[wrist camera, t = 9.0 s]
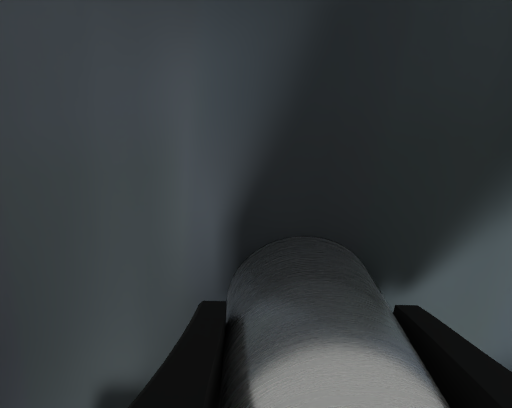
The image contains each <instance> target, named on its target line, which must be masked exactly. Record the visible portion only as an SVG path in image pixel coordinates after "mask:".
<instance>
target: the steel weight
mask: <svg viewBox="0 0 512 408" xmlns="http://www.w3.org/2000/svg"><path fill="white" fill-rule="evenodd" d="M220 408H450V407H449V405H448V403H447V402H446V400H445V398H444V397H443V395H442V393H441V392H440V390H439V389H438V387H437V385H436V384H435V382H434V380H433V379H432V377H431V375H430V374H429V372H428V370H427V369H426V367H425V365H424V364H423V362H422V360H421V359H420V357H419V356H418V354H417V352H416V351H415V349H414V347H413V346H412V344H411V342H410V341H409V339H408V337H407V336H406V334H405V332H404V331H403V329H402V328H401V326H400V324H399V323H398V321H397V319H396V318H395V316H394V314H393V313H392V311H391V309H390V308H389V306H388V304H387V303H386V301H385V300H384V298H383V296H382V295H381V293H380V291H379V290H378V288H377V286H376V285H375V283H374V281H373V280H372V278H371V276H370V275H369V273H368V272H367V270H366V268H365V267H364V265H363V264H362V262H361V261H360V260H359V259H358V257H357V256H355V255H354V254H353V253H352V252H351V251H350V250H348V249H347V248H345V247H344V246H342V245H340V244H338V243H336V242H333V241H330V240H327V239H323V238H319V237H310V236H299V237H290V238H285V239H281V240H278V241H275V242H272V243H270V244H267V245H266V246H264V247H262V248H260V249H258V250H257V251H256V252H254V253H253V254H252V255H250V256H249V257H248V258H247V259H246V260H245V261H244V262H243V263H242V264H241V266H240V267H239V268H238V270H237V271H236V273H235V275H234V276H233V279H232V281H231V283H230V287H229V290H228V298H227V311H226V330H225V345H224V357H223V368H222V382H221V396H220Z"/></svg>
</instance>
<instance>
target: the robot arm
mask: <svg viewBox="0 0 512 408" xmlns="http://www.w3.org/2000/svg"><path fill="white" fill-rule="evenodd" d="M393 314H394V316H395V318H396V319H397V321H398V323H399V324H400V326H401V328H402V329H403V331H404V332H405V334H406V336H407V337H408V339H409V341H410V342H411V344H412V346H413V347H414V349H415V351H416V352H417V354H418V356H419V357H420V359H421V360H422V362H423V364H424V365H425V367H426V369H427V370H428V372H429V374H430V375H431V377H432V379H433V380H434V382H435V384H436V385H437V387H438V389H439V390H440V392H441V393H442V395H443V397H444V398H445V400H446V402H447V403H448V405H449V407H450V408H512V372H511V371H509V370H508V369H506V368H505V367H504V366H502V365H501V364H499V363H498V362H496V361H495V360H494V359H492V358H491V357H489V356H488V355H487V354H485V353H484V352H482V351H481V350H480V349H478V348H477V347H475V346H474V345H473V344H471V343H470V342H469V341H467V340H466V339H464V338H463V337H462V336H460V335H459V334H458V333H456V332H455V331H453V330H452V329H451V328H449V327H448V326H447V325H445V324H444V323H442V322H441V321H440V320H438V319H437V318H435V317H434V316H433V315H431V314H430V313H428V312H427V311H425V310H424V309H422V308H421V307H419V306H416V305H395V308H394V312H393ZM225 330H226V301H202V302H201V303H200V304H199V305H198V307H197V309H196V312H195V313H194V315H193V317H192V319H191V321H190V323H189V324H188V326H187V328H186V329H185V331H184V333H183V334H182V336H181V338H180V339H179V341H178V342H177V344H176V345H175V346H174V348H173V349H172V351H171V352H170V354H169V355H168V357H167V358H166V360H165V361H164V363H163V364H162V365H161V367H160V368H159V369H158V371H157V372H156V373H155V375H154V376H153V377H152V378H151V380H150V381H149V382H148V384H147V385H146V386H145V388H144V389H143V390H142V391H141V393H140V394H139V395H138V396H137V398H136V399H135V400H134V401H133V402H132V404H131V405H130V406H129V407H128V408H220V396H221V382H222V368H223V357H224V345H225Z"/></svg>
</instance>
